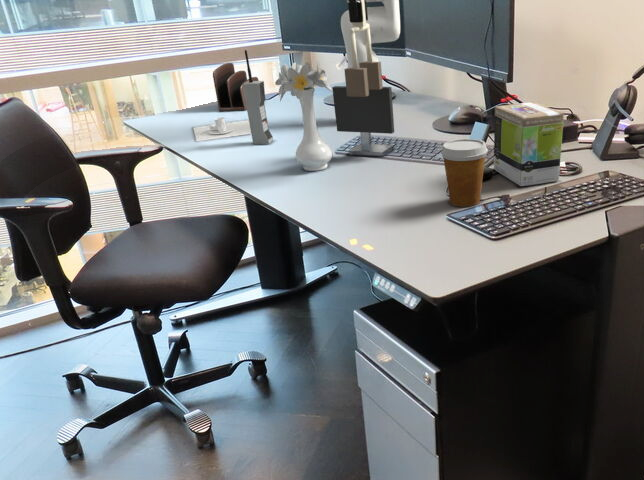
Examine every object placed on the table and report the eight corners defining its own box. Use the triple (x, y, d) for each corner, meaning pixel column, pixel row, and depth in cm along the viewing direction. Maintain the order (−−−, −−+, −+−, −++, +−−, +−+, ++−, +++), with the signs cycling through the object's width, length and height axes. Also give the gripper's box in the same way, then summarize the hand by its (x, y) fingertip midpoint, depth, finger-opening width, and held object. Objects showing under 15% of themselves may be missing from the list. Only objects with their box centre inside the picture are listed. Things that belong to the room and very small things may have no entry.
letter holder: (219, 111, 233) (210, 69, 226) (237, 99, 250) (230, 60, 242) (245, 110, 232) (237, 68, 224) (262, 98, 248) (255, 58, 241)
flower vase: (325, 154, 176) (313, 54, 163) (349, 171, 162) (338, 62, 148) (279, 163, 172) (262, 60, 158) (299, 181, 158) (283, 70, 144)
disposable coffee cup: (439, 196, 142) (437, 140, 135) (482, 192, 142) (482, 136, 136) (445, 211, 134) (444, 152, 127) (491, 207, 134) (492, 148, 128)
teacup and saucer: (208, 130, 209) (205, 117, 207) (232, 127, 211) (230, 114, 209) (210, 136, 202) (207, 123, 200) (235, 133, 204) (233, 119, 202)
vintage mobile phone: (269, 144, 189) (253, 50, 176) (253, 144, 190) (236, 51, 177) (273, 141, 192) (258, 48, 179) (257, 141, 193) (241, 49, 180)
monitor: (350, 147, 181) (344, 82, 172) (403, 150, 175) (399, 82, 166) (339, 154, 176) (331, 87, 166) (393, 157, 170) (388, 88, 161)
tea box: (560, 181, 145) (565, 112, 137) (519, 188, 143) (522, 118, 135) (530, 164, 157) (533, 99, 149) (492, 170, 155) (492, 105, 147)
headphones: (364, 87, 161) (356, -3, 150) (382, 88, 159) (376, -4, 148) (346, 96, 154) (337, 2, 143) (365, 96, 152) (357, 1, 141)
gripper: (349, -76, 131) (358, 26, 141) (381, -78, 143) (388, 16, 153) (317, -73, 134) (328, 26, 144) (351, -75, 145) (359, 17, 156)
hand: (359, 20), depth 148 cm, fingers closed on headphones
